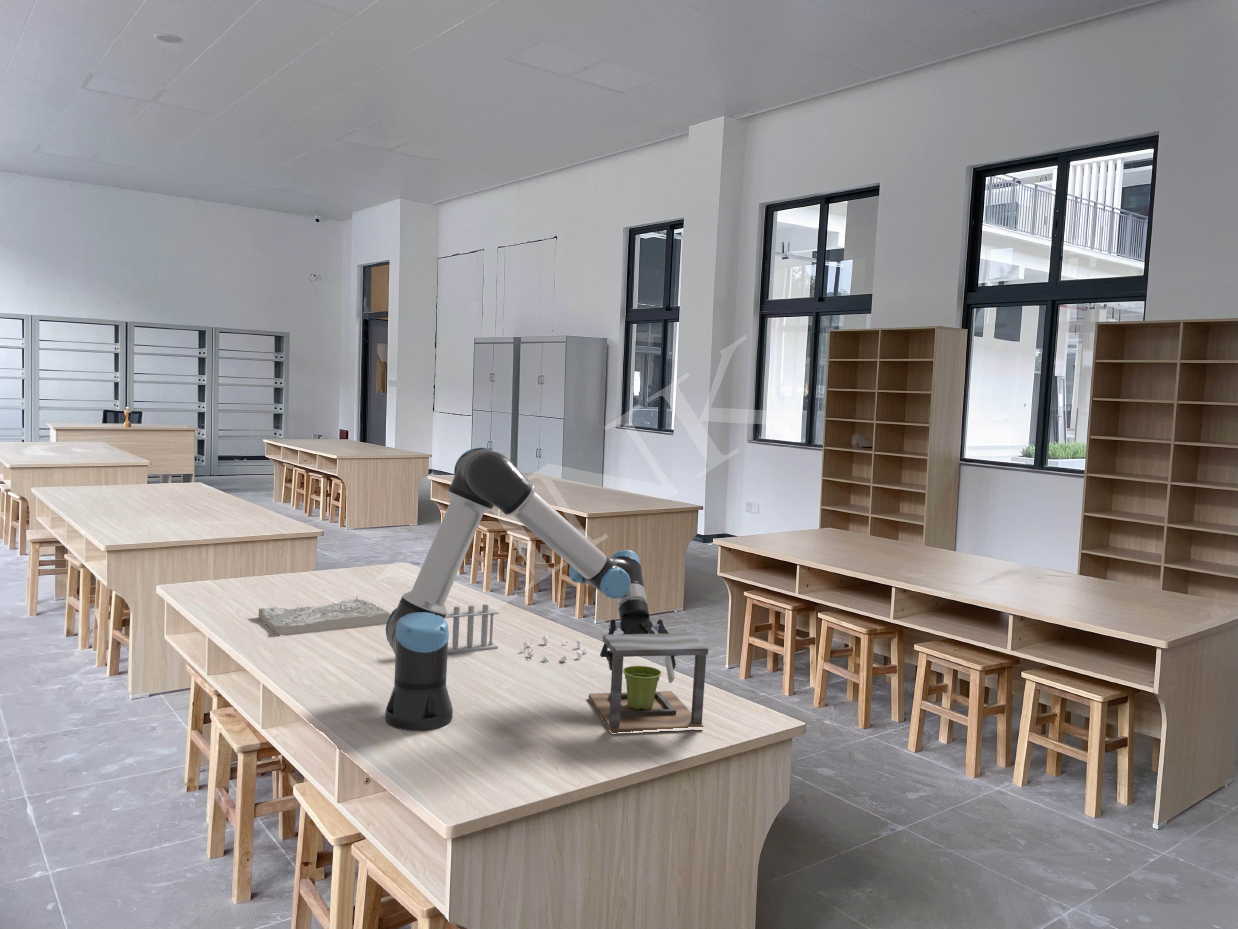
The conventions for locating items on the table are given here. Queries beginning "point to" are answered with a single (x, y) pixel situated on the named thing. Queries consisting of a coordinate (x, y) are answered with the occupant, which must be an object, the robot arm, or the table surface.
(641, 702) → the plant pot
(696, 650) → the roofed stand
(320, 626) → the topographic model
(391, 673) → the table surface
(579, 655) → the game piece set
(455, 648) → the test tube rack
